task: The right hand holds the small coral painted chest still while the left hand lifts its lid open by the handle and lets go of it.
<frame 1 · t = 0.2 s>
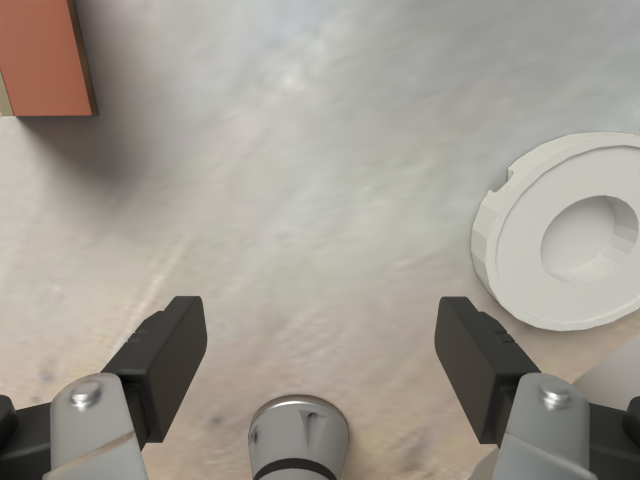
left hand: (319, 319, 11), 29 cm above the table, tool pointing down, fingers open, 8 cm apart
chest: (34, 29, 34), on the table
ashtray: (565, 230, 41), on the table
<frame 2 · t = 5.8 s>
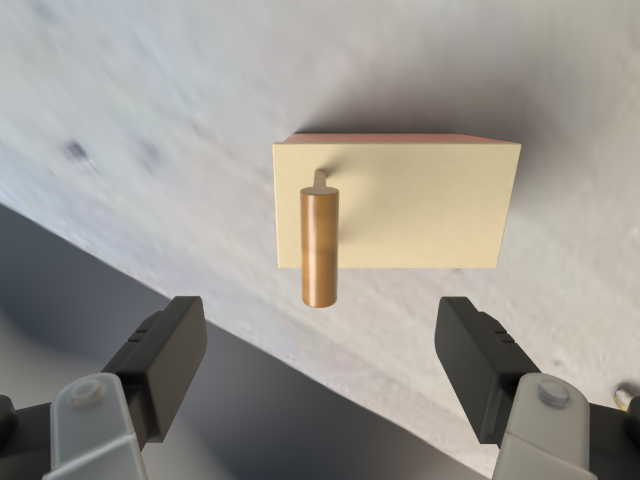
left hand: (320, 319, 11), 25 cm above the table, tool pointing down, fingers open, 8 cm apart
chest: (372, 179, 35), on the table
lid: (403, 225, 21), point 15 cm above the table, hinge at 0.0°
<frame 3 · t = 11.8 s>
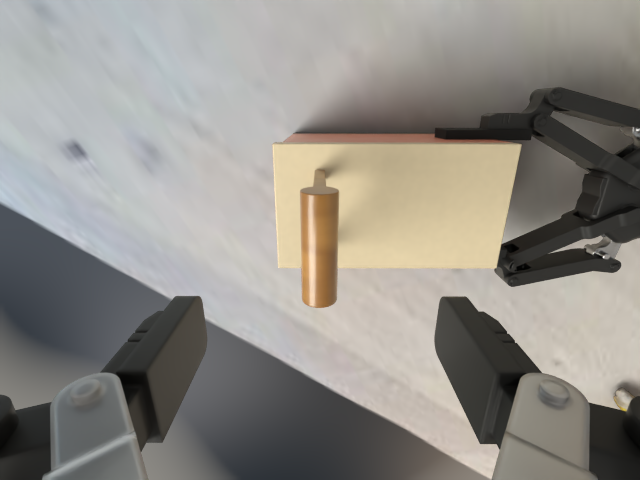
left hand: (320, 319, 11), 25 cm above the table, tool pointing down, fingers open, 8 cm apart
right hand: (433, 194, 29), fingers closed on chest, 9 cm apart
chest: (372, 179, 35), on the table, touching right hand
lid: (403, 225, 21), point 15 cm above the table, hinge at 0.0°
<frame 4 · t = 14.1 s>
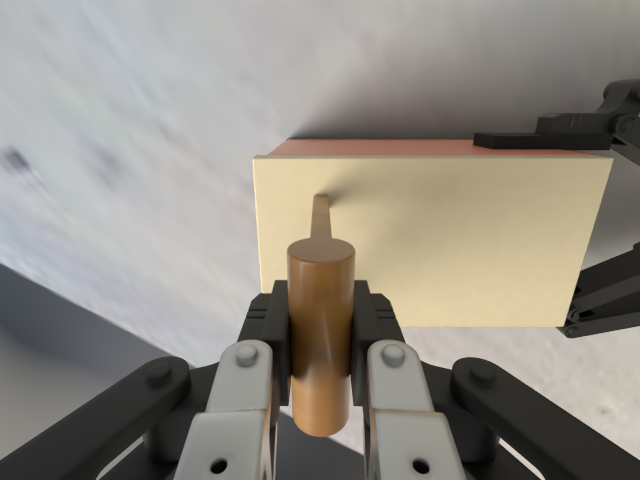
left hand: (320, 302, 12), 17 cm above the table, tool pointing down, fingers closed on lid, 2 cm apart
chest: (385, 195, 28), on the table, touching right hand
lid: (446, 283, 14), point 15 cm above the table, hinge at 0.2°, touching left hand
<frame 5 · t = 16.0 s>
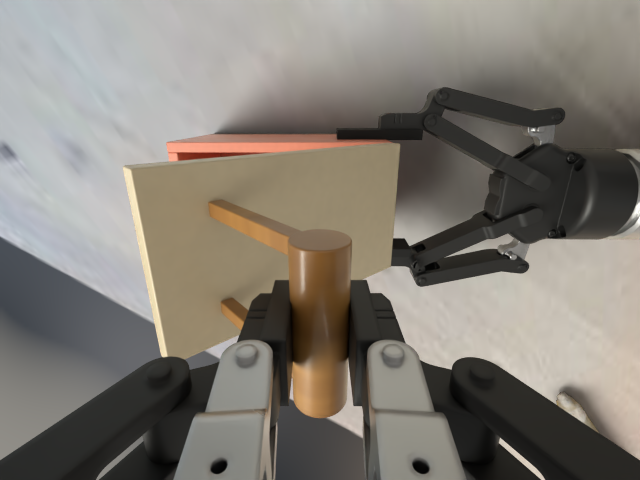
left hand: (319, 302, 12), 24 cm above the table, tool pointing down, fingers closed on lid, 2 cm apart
right hand: (336, 193, 29), fingers closed on chest, 9 cm apart
chest: (294, 179, 35), on the table, touching right hand
lid: (349, 252, 17), point 20 cm above the table, hinge at 42.5°, touching left hand
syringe: (597, 444, 47), on the table
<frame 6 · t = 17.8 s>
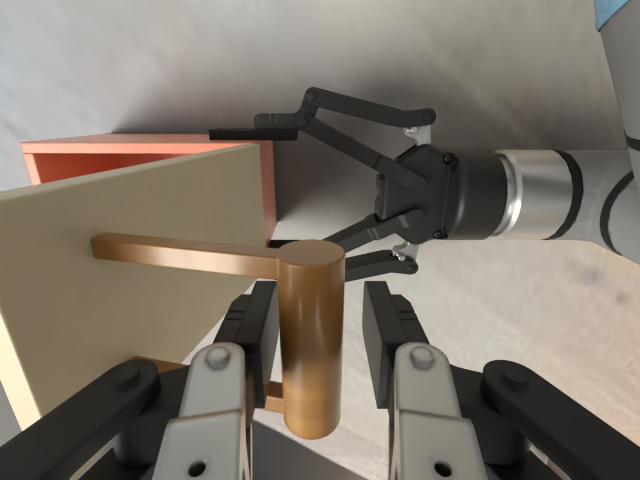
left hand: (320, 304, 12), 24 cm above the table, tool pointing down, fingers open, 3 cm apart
right hand: (220, 195, 28), fingers closed on chest, 9 cm apart
chest: (197, 179, 35), on the table, touching right hand
lid: (264, 262, 16), point 20 cm above the table, hinge at 76.3°
when the right hand's fingers open (7 cm above the table, at t = 21.9 s): chest stays where it is, on the table.
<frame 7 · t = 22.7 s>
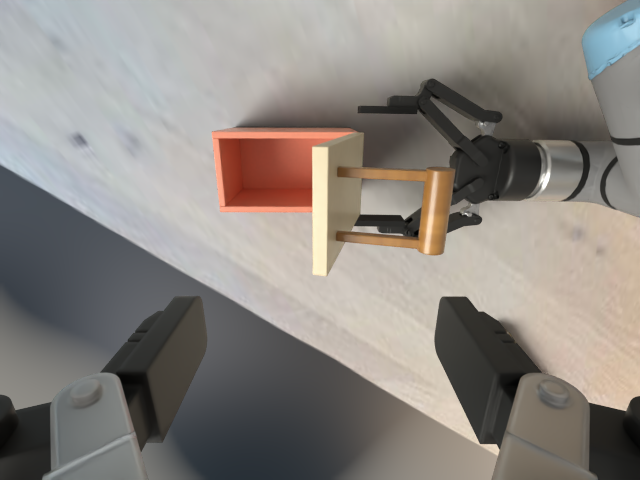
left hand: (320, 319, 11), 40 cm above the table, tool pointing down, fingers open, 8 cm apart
right hand: (355, 167, 42), fingers open, 13 cm apart
chest: (293, 161, 48), on the table
lid: (388, 192, 29), point 20 cm above the table, hinge at 75.3°
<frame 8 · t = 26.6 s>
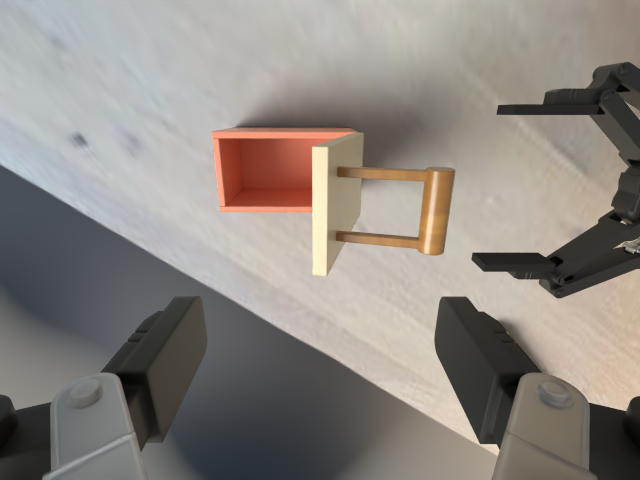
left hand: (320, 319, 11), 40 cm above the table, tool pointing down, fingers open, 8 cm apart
chest: (293, 161, 48), on the table
lid: (388, 192, 29), point 20 cm above the table, hinge at 75.3°
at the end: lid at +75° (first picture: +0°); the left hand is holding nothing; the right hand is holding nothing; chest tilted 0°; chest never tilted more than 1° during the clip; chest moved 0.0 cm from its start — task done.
